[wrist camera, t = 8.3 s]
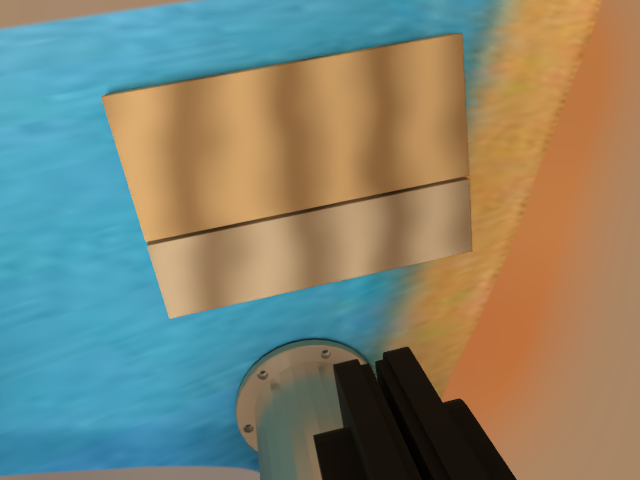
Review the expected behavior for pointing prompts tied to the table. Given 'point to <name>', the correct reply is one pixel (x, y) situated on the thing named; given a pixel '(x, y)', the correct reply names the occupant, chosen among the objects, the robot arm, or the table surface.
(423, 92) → the oak plank
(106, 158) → the table surface
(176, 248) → the ash board
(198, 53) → the table surface
